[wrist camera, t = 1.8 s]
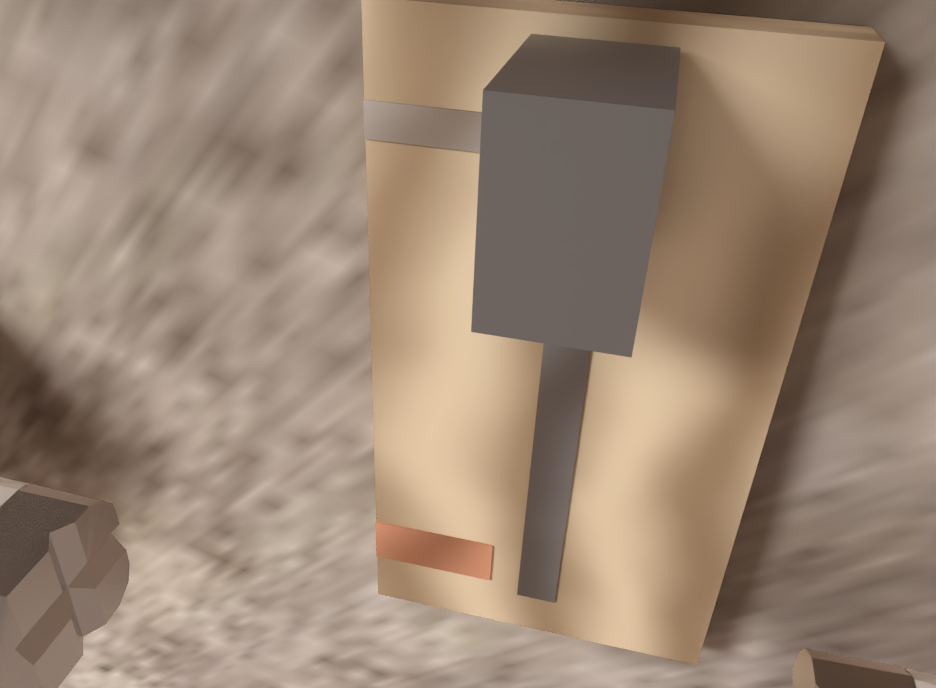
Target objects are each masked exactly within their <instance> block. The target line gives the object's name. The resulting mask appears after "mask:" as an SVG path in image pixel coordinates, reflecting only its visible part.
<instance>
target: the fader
mask: <svg viewBox="0 0 936 688" xmlns="http://www.w3.org/2000/svg"><path fill="white" fill-rule="evenodd" d="M680 50H681V47H670V46H659V45H648V44H637V43H626V42H616V41H605V40H594V39H583V38H572V37H561V36H550V35H540V34H530V36H529V37H528V38H527V39H526V40H525V41H524V43H523V44H522V45H521V46H520V47H519V49H518V50H517V51H516V52H515V53H514V54H513V56H512V57H511V58H510V59H509V60H508V61H507V63H506V64H505V65H504V66H503V67H502V68H501V70H500V71H499V72H498V73H497V74H496V75H495V77H494V78H493V79H492V80H491V81H490V82H489V84H488V85H487V86H486V87H485V88H484V89H483V99H482V119H481V139H480V160H479V180H478V201H477V221H476V241H475V262H474V282H473V303H472V323H471V332H475V333H481V334H487V335H494V336H500V337H506V338H512V339H519V340H525V341H531V342H537V343H544V344H550V345H556V346H562V347H569V348H575V349H581V350H587V351H594V352H600V353H606V354H612V355H619V356H625V357H631V358H632V353H633V347H634V341H635V336H636V330H637V325H638V319H639V313H640V308H641V302H642V296H643V291H644V285H645V279H646V274H647V268H648V262H649V257H650V251H651V245H652V240H653V234H654V229H655V223H656V217H657V212H658V206H659V200H660V195H661V189H662V183H663V178H664V172H665V166H666V161H667V155H668V149H669V144H670V138H671V133H672V127H673V121H674V116H675V109H676V97H677V85H678V74H679V62H680Z"/></svg>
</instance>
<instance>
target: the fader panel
mask: <svg viewBox="0 0 936 688" xmlns="http://www.w3.org/2000/svg"><path fill="white" fill-rule="evenodd" d="M362 34H363V69H364V100H363V109H364V139H366V174H367V209H368V244H369V279H370V314H371V348H372V383H373V418H374V453H375V488H376V552H377V558H378V593H379V594H382V595H386V596H390V597H395V598H399V599H404V600H408V601H413V602H417V603H422V604H426V605H431V606H435V607H440V608H444V609H449V610H453V611H458V612H462V613H467V614H471V615H476V616H480V617H485V618H489V619H493V620H498V621H502V622H507V623H511V624H516V625H520V626H525V627H529V628H534V629H538V630H543V631H547V632H552V633H556V634H561V635H565V636H570V637H574V638H579V639H583V640H588V641H592V642H596V643H601V644H605V645H610V646H614V647H619V648H623V649H628V650H632V651H637V652H641V653H646V654H650V655H655V656H659V657H664V658H668V659H673V660H677V661H682V662H686V663H690V664H695V665H697V663H698V660H699V657H700V653H701V650H702V647H703V644H704V640H705V637H706V634H707V630H708V627H709V624H710V620H711V617H712V614H713V610H714V607H715V604H716V601H717V597H718V594H719V591H720V587H721V584H722V581H723V577H724V574H725V571H726V567H727V564H728V561H729V558H730V554H731V551H732V548H733V544H734V541H735V538H736V534H737V531H738V528H739V524H740V521H741V518H742V515H743V511H744V508H745V505H746V501H747V498H748V495H749V491H750V488H751V485H752V482H753V478H754V475H755V472H756V468H757V465H758V462H759V458H760V455H761V452H762V448H763V445H764V442H765V439H766V435H767V432H768V429H769V425H770V422H771V419H772V415H773V412H774V409H775V405H776V402H777V399H778V396H779V392H780V389H781V386H782V382H783V379H784V376H785V372H786V369H787V366H788V362H789V359H790V356H791V353H792V349H793V346H794V343H795V339H796V336H797V333H798V329H799V326H800V323H801V319H802V316H803V313H804V310H805V306H806V303H807V300H808V296H809V293H810V290H811V286H812V283H813V280H814V276H815V273H816V270H817V267H818V263H819V260H820V257H821V253H822V250H823V247H824V243H825V240H826V237H827V233H828V230H829V227H830V224H831V220H832V217H833V214H834V210H835V207H836V204H837V200H838V197H839V194H840V190H841V187H842V184H843V181H844V177H845V174H846V171H847V167H848V164H849V161H850V157H851V154H852V151H853V147H854V144H855V141H856V138H857V134H858V131H859V128H860V124H861V121H862V118H863V114H864V111H865V108H866V104H867V101H868V98H869V95H870V91H871V88H872V85H873V81H874V78H875V75H876V71H877V68H878V65H879V61H880V58H881V55H882V52H883V48H884V45H885V41H884V40H883V39H882V38H881V37H880V36H879V35H878V34H877V32H876V31H875V30H874V29H873V28H872V27H866V26H854V25H842V24H830V23H818V22H806V21H795V20H783V19H771V18H759V17H747V16H735V15H723V14H711V13H700V12H688V11H676V10H664V9H652V8H640V7H628V6H616V5H604V4H593V3H581V2H569V1H557V0H362ZM530 34H540V35H550V36H561V37H572V38H583V39H594V40H605V41H616V42H626V43H637V44H648V45H659V46H670V47H681V50H680V62H679V74H678V85H677V97H676V109H675V116H674V121H673V127H672V133H671V138H670V144H669V149H668V155H667V161H666V166H665V172H664V178H663V183H662V189H661V195H660V200H659V206H658V212H657V217H656V223H655V229H654V234H653V240H652V245H651V251H650V257H649V262H648V268H647V274H646V279H645V285H644V291H643V296H642V302H641V308H640V313H639V319H638V325H637V330H636V336H635V341H634V347H633V353H632V358H631V357H625V356H619V355H612V354H606V353H600V352H594V351H587V350H581V349H575V348H569V347H562V346H556V345H550V344H544V343H537V342H531V341H525V340H519V339H512V338H506V337H500V336H494V335H487V334H481V333H475V332H471V323H472V303H473V282H474V262H475V241H476V221H477V201H478V180H479V160H480V139H481V119H482V99H483V89H484V88H485V87H486V86H487V85H488V84H489V82H490V81H491V80H492V79H493V78H494V77H495V75H496V74H497V73H498V72H499V71H500V70H501V68H502V67H503V66H504V65H505V64H506V63H507V61H508V60H509V59H510V58H511V57H512V56H513V54H514V53H515V52H516V51H517V50H518V49H519V47H520V46H521V45H522V44H523V43H524V41H525V40H526V39H527V38H528V37H529V36H530Z"/></svg>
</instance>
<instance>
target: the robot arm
mask: <svg viewBox="0 0 936 688" xmlns="http://www.w3.org/2000/svg"><path fill="white" fill-rule="evenodd" d="M118 525H119V521H118V518H117V515H116V512H115V509H114V506H113V504H111V503H108V502H104V501H101V500H97V499H93V498H89V497H85V496H81V495H76V494H72V493H68V492H64V491H60V490H56V489H52V488H47V487H43V486H39V485H35V484H30V483H25V482H21V481H16V480H12V479H8V478H3V477H0V688H58V687H59V686H60V684H61V683H62V682H63V680H64V679H65V678H66V676H67V675H68V674H69V672H70V671H71V670H72V668H73V667H74V666H75V664H76V663H77V662H78V660H79V659H80V658H81V657H82V655H83V636H85V635H87V634H89V633H90V632H92V631H94V630H96V629H98V628H100V627H102V626H103V625H105V624H106V623H107V622H108V620H109V619H110V618H111V616H112V615H113V613H114V612H115V611H116V609H117V608H118V606H119V605H120V602H121V600H122V597H123V595H124V592H125V589H126V587H127V584H128V581H129V560H128V556H127V552H126V549H125V548H124V547H123V546H122V545H121V544H120V543H119V542H118V541H117V539H116V538H115V537H114V536H113V535H112V533H113V532H114V530H115V529H116V528H117V526H118ZM792 677H793V687H794V688H936V675H934V674H929V673H925V672H920V671H915V670H910V669H903V668H901V667H899V666H894V665H889V664H884V663H879V662H874V661H869V660H864V659H859V658H854V657H849V656H844V655H839V654H834V653H829V652H824V651H819V650H814V649H809V648H804V649H803V650H802V651H801V652H799V653H798V655H797V657H796V660H795V662H794V665H793V667H792Z"/></svg>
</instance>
